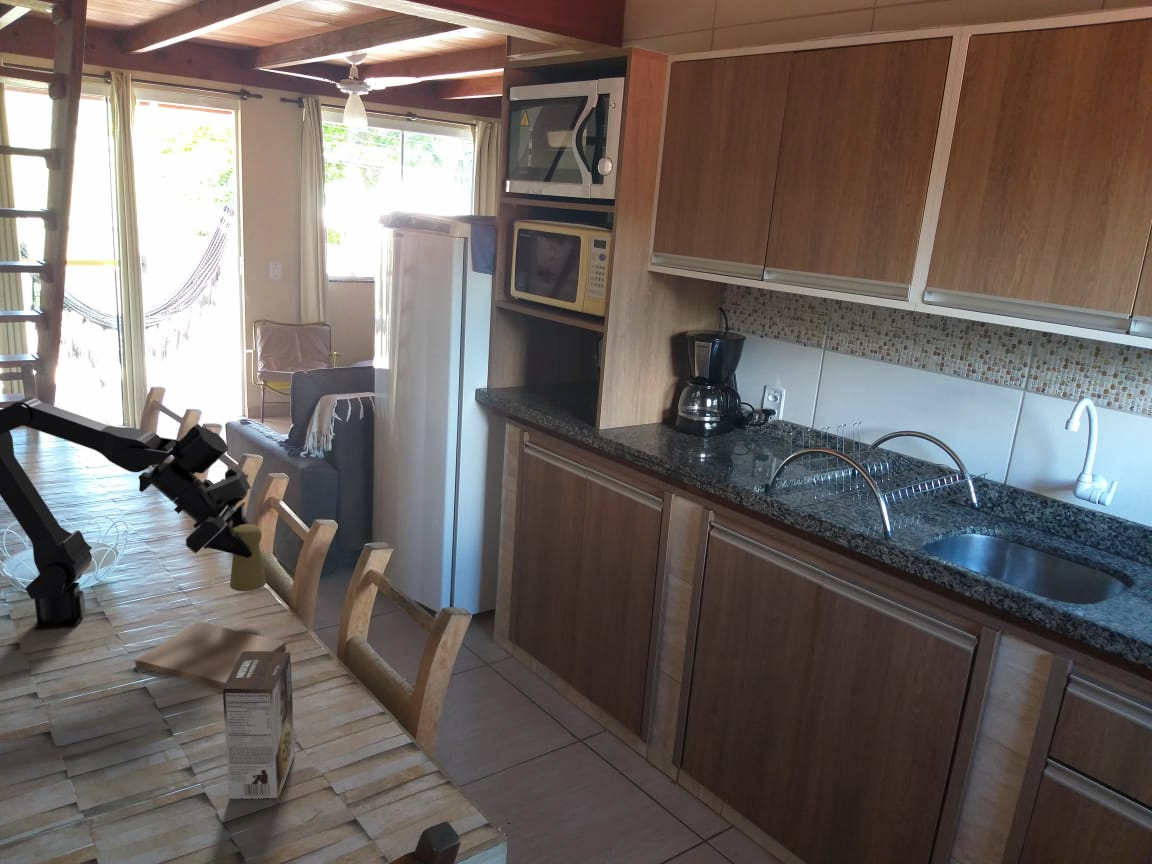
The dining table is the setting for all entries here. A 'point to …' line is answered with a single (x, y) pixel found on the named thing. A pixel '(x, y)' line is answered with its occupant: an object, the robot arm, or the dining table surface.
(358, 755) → the dining table surface
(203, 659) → the walnut board
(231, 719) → the coffee box
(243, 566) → the cork
